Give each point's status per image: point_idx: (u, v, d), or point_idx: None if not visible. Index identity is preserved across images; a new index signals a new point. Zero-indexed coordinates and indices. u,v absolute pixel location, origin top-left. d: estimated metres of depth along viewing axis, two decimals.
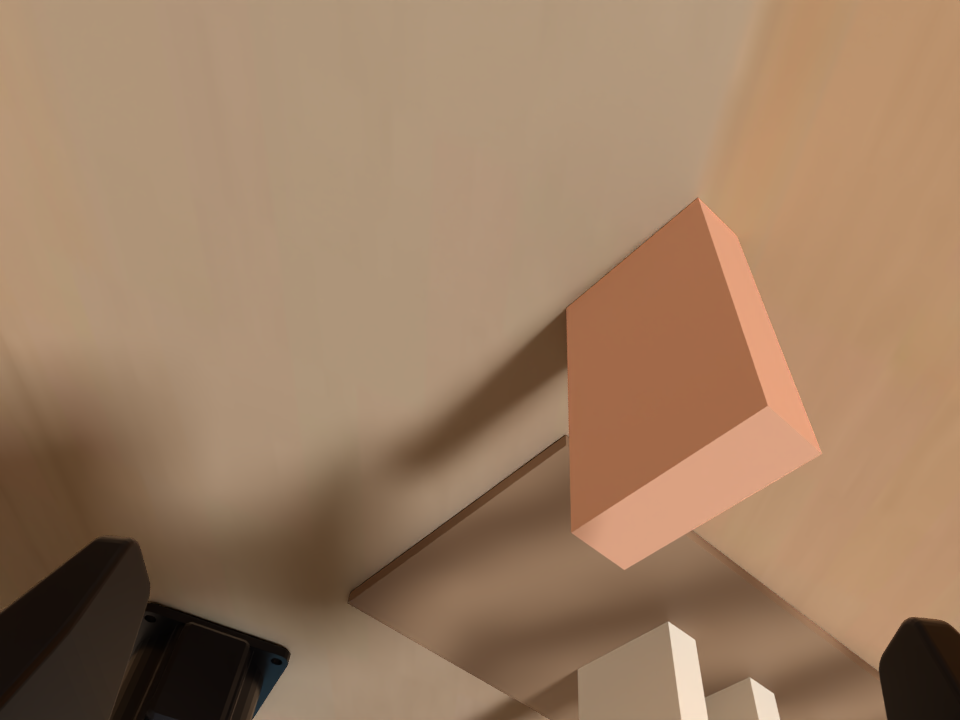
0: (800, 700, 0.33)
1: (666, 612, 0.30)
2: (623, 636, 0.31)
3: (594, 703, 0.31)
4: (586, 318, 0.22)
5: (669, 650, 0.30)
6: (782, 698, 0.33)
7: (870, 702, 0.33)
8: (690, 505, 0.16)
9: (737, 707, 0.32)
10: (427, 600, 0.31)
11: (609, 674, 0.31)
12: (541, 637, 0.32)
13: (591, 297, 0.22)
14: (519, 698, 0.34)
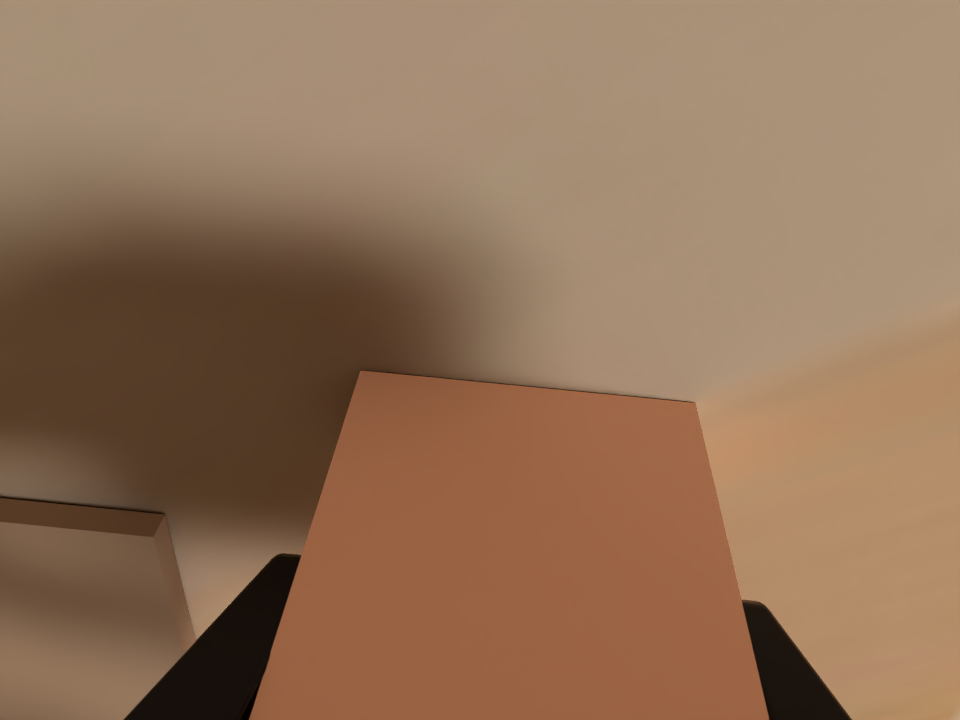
0: None
1: None
2: None
3: None
4: (398, 438, 0.10)
5: None
6: None
7: None
8: None
9: None
10: None
11: None
12: None
13: (422, 399, 0.11)
14: None
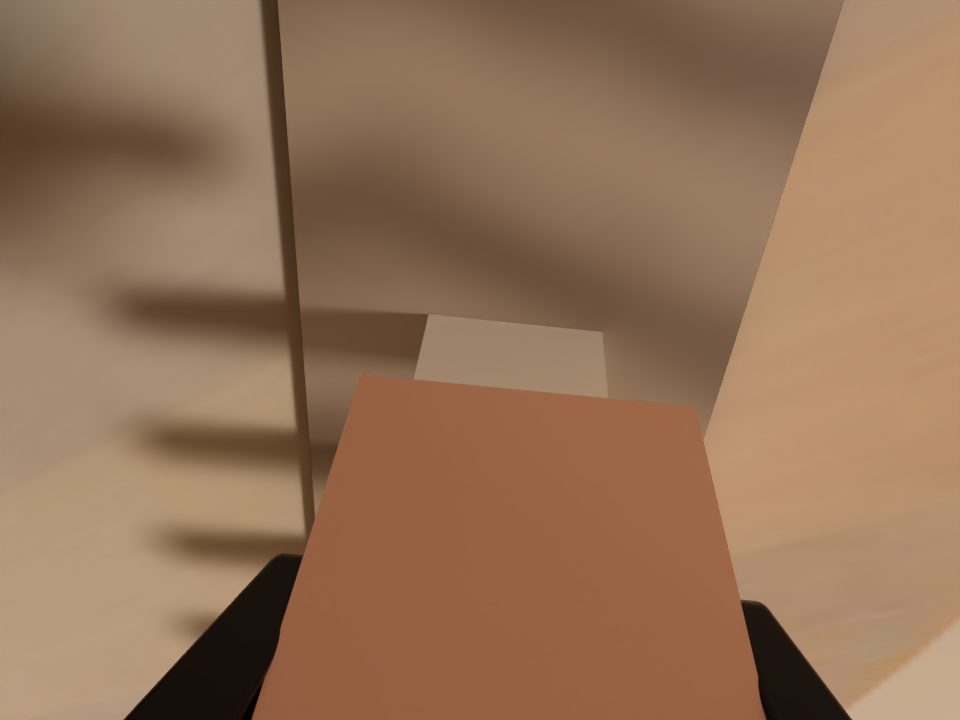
0: None
1: (616, 319, 0.22)
2: (534, 312, 0.22)
3: (452, 355, 0.20)
4: (399, 442, 0.10)
5: (601, 357, 0.21)
6: None
7: None
8: None
9: None
10: (390, 40, 0.18)
11: (487, 339, 0.21)
12: (449, 233, 0.20)
13: (422, 403, 0.11)
14: (306, 299, 0.22)
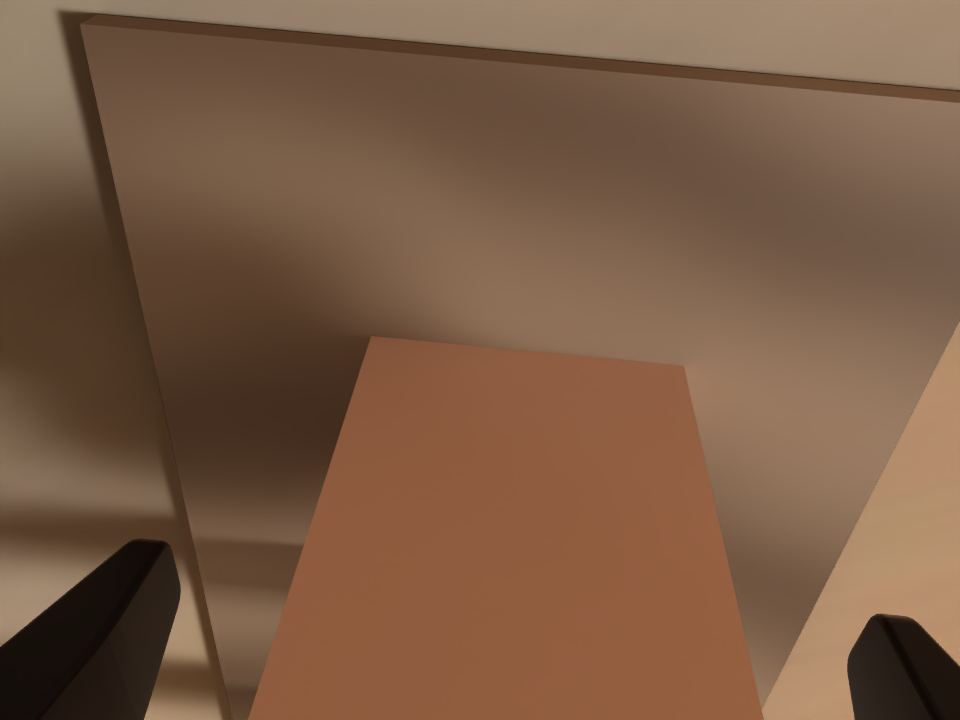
0: None
1: None
2: None
3: None
4: (408, 395, 0.11)
5: None
6: None
7: None
8: None
9: None
10: (292, 196, 0.11)
11: None
12: None
13: (430, 362, 0.12)
14: (200, 528, 0.15)
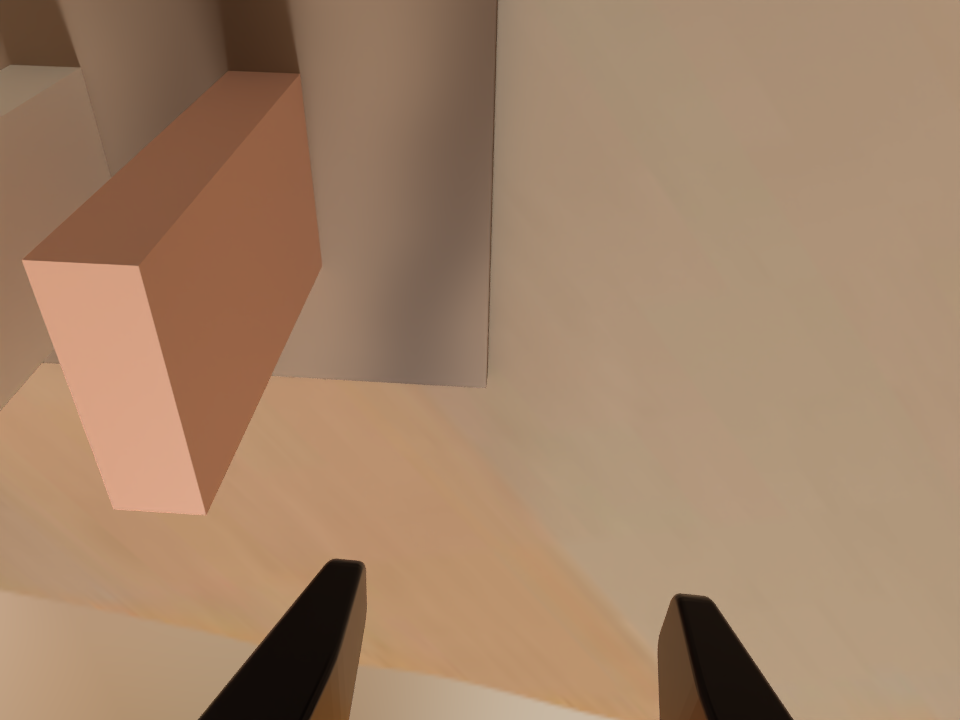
0: None
1: None
2: None
3: (50, 134, 0.17)
4: (288, 129, 0.17)
5: None
6: None
7: None
8: (106, 393, 0.12)
9: None
10: (398, 26, 0.17)
11: (81, 156, 0.18)
12: (195, 92, 0.18)
13: (299, 125, 0.18)
14: None
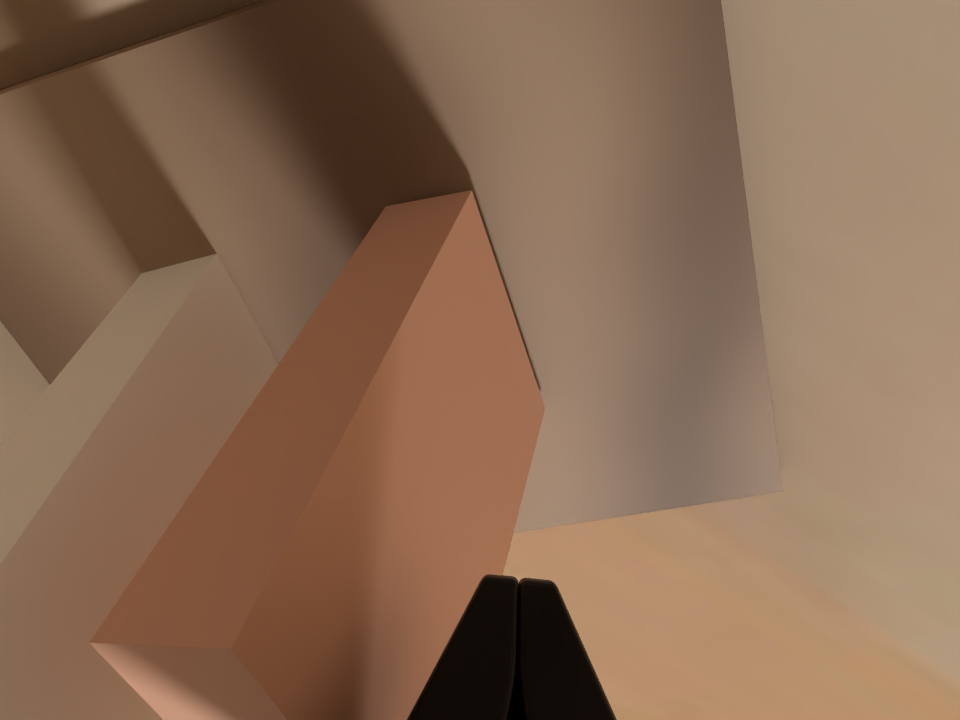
0: None
1: None
2: None
3: (204, 348, 0.14)
4: (466, 272, 0.13)
5: None
6: None
7: None
8: None
9: None
10: (590, 84, 0.12)
11: (243, 356, 0.15)
12: (353, 242, 0.14)
13: (481, 256, 0.13)
14: (118, 68, 0.13)
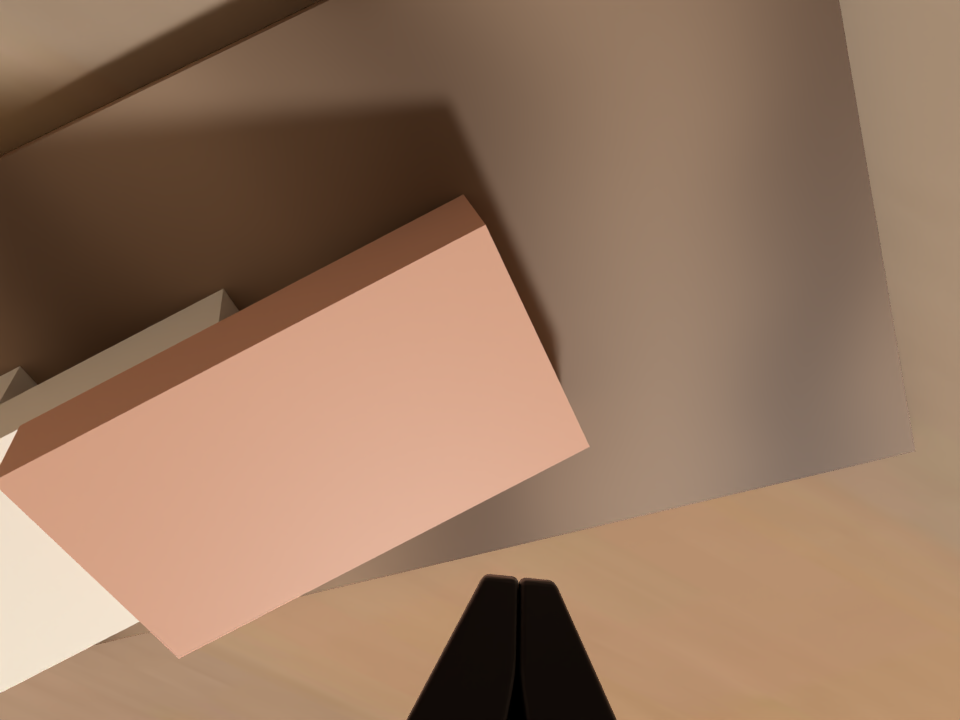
0: None
1: None
2: None
3: None
4: (428, 305, 0.12)
5: None
6: None
7: None
8: None
9: None
10: (689, 34, 0.12)
11: None
12: None
13: (480, 291, 0.13)
14: (205, 75, 0.13)
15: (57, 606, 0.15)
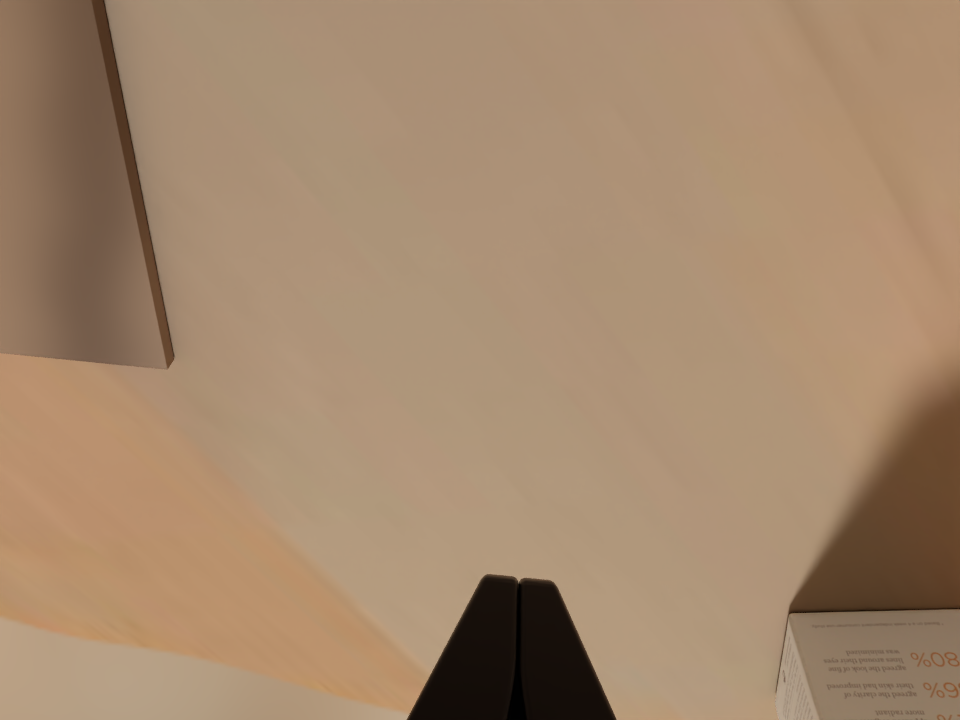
0: None
1: None
2: None
3: None
4: None
5: None
6: None
7: None
8: None
9: None
10: None
11: None
12: None
13: None
14: None
15: None
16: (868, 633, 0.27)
